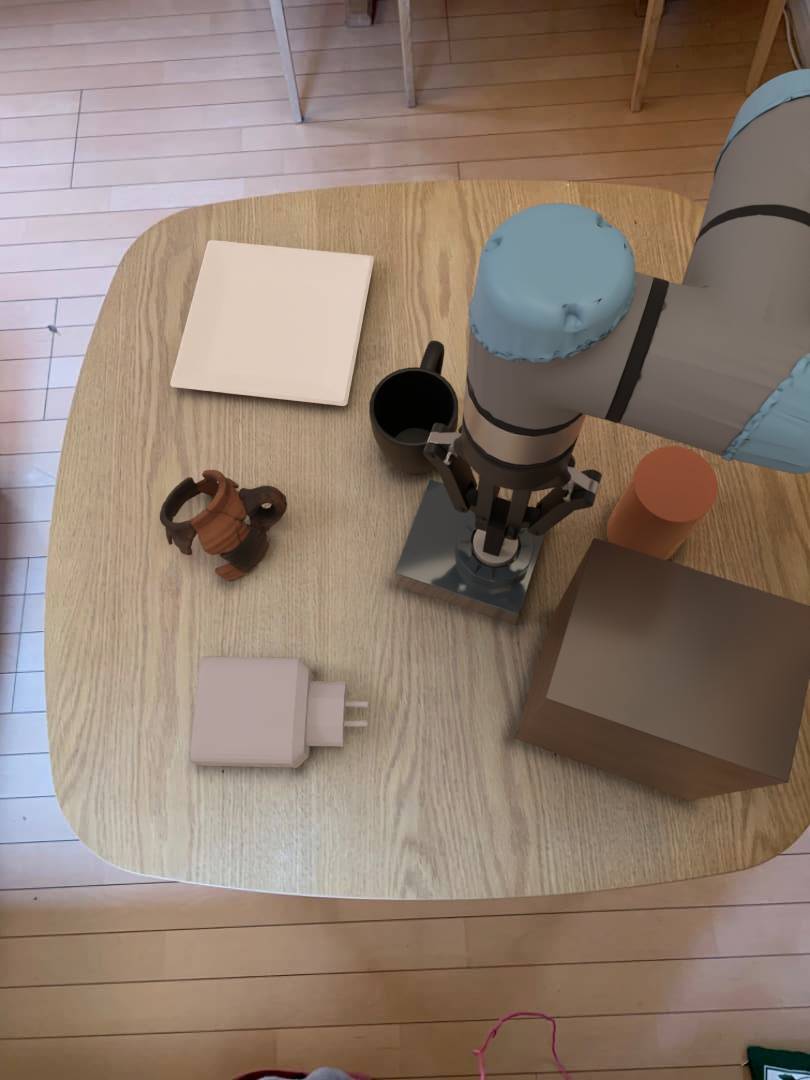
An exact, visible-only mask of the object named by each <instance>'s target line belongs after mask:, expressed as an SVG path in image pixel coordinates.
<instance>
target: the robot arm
mask: <svg viewBox="0 0 810 1080" xmlns="http://www.w3.org/2000/svg"><path fill="white" fill-rule="evenodd" d="M622 231H623V230H621V229H619V228H618V227H616V226H613V225H612V224H611V223H610V222H609V221H608V220H606V219H605V218H604V216H602V214H601V213H600V212H599V211H597V210H594V209H592V208H589V207H586V206H583V205H580V204H575V203H569V202H551V203H543V204H536V205H534V206H530V207H527V208H525V209H522V210H520V211H518V212H516V213H514V214H512V215H511V216H510V217H508V218H507V219H505V220H504V221H503V222H502V223H500V224H499V226H498V227H497V228H495V230H494V231H493V232H492V233H491V234H490V236H489V238H487V241H486V243H485V244H484V246H483V247H482V249H481V252H480V256H479V261H478V268H477V273H476V279H475V285H474V291H473V295H472V297H471V300H470V302H469V305H468V313H467V316H469V318H468V323H469V324H468V325H469V335H468V355H467V356H468V357H467V366H466V375H465V383H464V384H465V387H464V395H463V412H462V419H461V420H462V421H461V425H460V426H459V427H458V429H457V431H458V432H457V431H456V432H452V431H451V430H450V429H449V428H448V427H447V426H446V425H444V424H441V423H435V424H434V425H433V428H432V430H431V433H430V436H429V438H428V441H427V444H426V446H425V448H424V451H423V455H424V456H425V457H426V458H427V459H428V460H429V461H430V462H431V463H432V464H433V465H434V466H435V467H436V468H435V469H436V471H437V473H438V475H439V477H440V480H441V483H443V484H444V486H445V488H446V491H447V493H448V495H449V497H450V500H451V502H452V504H453V506H454V508H455V509H456V510H457V511H458V512H462V513H467V512H468V511H469V510H470V511H472V512H474V513H475V518H476V520H475V527H476V529H479V530H482V531H485V532H486V536H485V541H484V547H483V552H485V553H488V554H491V555H494V556H497V557H499V554H500V551H501V548H502V545H503V542H504V539H505V538H507V539H509V540H517V539H518V536H519V533H520V530H521V529H522V528H528V532H529V533H530V534H532V535H534V536H542V535H543V534H544V533H546V534H547V532H549V530H551V529H552V528H554V527H555V526H557V525H558V524H559V523H560V522H561V521H563V520H564V519H565V518H567V517H569V516H570V515H571V514H572V513H574V512H575V511H579V510H584V509H589V508H593V506H594V503H595V500H596V498H597V494H598V490H599V487H600V483H601V481H602V477H603V474H602V473H601V472H600V471H598V470H596V469H584V470H581V471H580V470H579V469H577V468H575V467H576V459H575V457H574V455H573V453H574V449H575V447H576V444H577V441H578V438H579V435H580V433H581V430H582V427H583V425H584V422H585V420H586V417H587V416H589V417H592V418H596V419H601V420H606V421H608V422H612V423H614V424H619V425H622V426H625V427H628V428H632V429H636V430H638V431H641V432H645V433H648V434H651V435H655V436H657V437H661V438H663V439H667V440H671V441H673V442H676V443H680V444H683V445H687V446H688V447H693V448H696V449H698V450H702V451H705V452H708V453H711V454H714V455H718V456H720V457H721V459H722V460H724V461H727V462H732V461H737V462H742V463H745V464H750V465H754V466H758V467H762V468H766V469H770V470H774V471H779V472H783V473H787V474H792V475H805V474H810V68H803V69H795V70H792V71H791V70H790V71H789V72H788V71H787V72H785V73H783V74H780V75H777V76H776V77H774V78H771V79H770V80H768V81H766V82H764V83H763V84H762V85H761V86H759V87H758V88H756V90H755V91H754V92H752V93H751V94H750V95H749V96H748V97H747V98H746V100H745V101H743V104H742V105H741V107H740V109H738V112H737V114H736V116H735V118H734V121H733V123H732V126H731V128H730V130H729V132H728V134H727V138H726V140H725V142H724V144H723V146H722V148H721V150H720V152H719V153H718V158H717V160H716V162H715V165H714V168H713V179H712V185H711V189H710V192H709V196H708V199H707V202H706V206H705V208H704V213H703V217H702V220H701V223H700V226H699V229H698V234H697V236H696V238H695V241H694V244H693V247H692V250H691V252H690V253H691V254H690V256H689V259H688V263H687V264H686V265H687V266H686V269H685V272H684V275H683V279H682V282H681V283H676V282H670V280H667V279H663V278H660V277H656V276H653V275H649V274H646V273H643V272H639V271H636V260H635V255H634V252H633V249H632V246H631V244H630V243H629V240H628V239H627V237H626V236H625V234H624V233H623V232H622ZM473 471H474V472H475V473H476V474H477V475H478V483H477V480H476V478H475V474H474V472H473ZM501 488H502V489H506V490H512V494H511V498H510V500H508V499H506V498H503V497H500V496H499V494H500V491H501ZM550 489H551V490H550ZM544 490H550V491H549V492H548V493H547V494H546V495H544V496H543V497H542V498H541V499H539V500H538V501H537V502H536V504H535V506H530V505H529V504H530V500H531V497H532V494H533V492H534V493H535V492H540V491H544Z"/></svg>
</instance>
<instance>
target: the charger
mask: <svg viewBox="0 0 810 1080" xmlns="http://www.w3.org/2000/svg"><path fill="white" fill-rule="evenodd" d="M196 683H197V684H196V691H195V701H194V708H193V709H194V711H193V718H192V719H193V720H192V729H191V738H190V747H189V748H190V749H189V753H190V754H189V755H190V762H191V763H192V764H195V765H198V766H205V767H206V766H207V767H208V766H209V767H247V768H248V767H249V768H250V767H253V768H259V767H260V768H294V769H298V768H299V767H300V766H301V765H302V764H303V763H304V762H305V761H307V759H308V758H309V757H310V751H311V747H341V748H343V747H344V744H345V736H346V735H345V734H346V727H352V728H353V727H355V728H367V727H369V721H368V720H347V719H346V717H347V708H368V707H369V706H370V703H369V701H366V700H363V701H362V700H347V681H335V680H334V681H324V680H315V674H313V672H312V670H311V669H310V668H309V667H308V666H307V665H306V663H305V662H304V661H303V660H302V659H301V658H300V657H271V656H269V657H268V656H267V657H265V656H264V657H263V656H261V657H259V656H215V655H214V656H213V655H212V656H211V655H210V656H209V655H206V656H205V655H202V656H201V658H200V661H199V665H198V675H197V682H196Z"/></svg>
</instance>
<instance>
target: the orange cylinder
mask: <svg viewBox="0 0 810 1080" xmlns="http://www.w3.org/2000/svg"><path fill="white" fill-rule="evenodd" d="M718 493H719V484H718V478H717V475H716V473H715V470H714V469H713V467H712V466H711V464H710V463H709V461H707V459H705V458H704V457H703V456H702V455H700V454H699V453H697V452H695V451H694V450H692V449H690V448H687V447H686V448H685V447H683V446H677V445H676V446H674V445H672V446H671V445H669V446H662V447H659V448H656V449H653V450H652V451H650V452H648V453H647V454H645V456H643V457H642V459H640V461H639V463H638V464H637V466H636V468H635V469H634V471H633V473H632V475H631V477H630V479H629V480H628V483H627V484H626V487H625V488H624V489H623V492H622V494H621V495H620V497H619V499H618V501H617V503H616V504H615V507H614V508H613V510H612V512H611V514H610V516H609V518H608V520H607V524H606V537H607V541H608V542H611V543H614V544H617V545H620V546H623V547H626V548H630V549H633V550H636V551H639V552H642V553H645V554H648V555H652V556H655V557H658V558H661V559H664V560H667V561H669V559H670V558H671V557H672V556H673V555H674V553H676V551H677V550H679V548H680V547H681V546H682V544H683V543H684V542H685V540H686V539H688V537H689V535H690V534H691V533H692V532H693V531H694V530H695V528H696V527H697V526H698V525H699V524H700V522H701V521H702V520H703V519H704V518H705V516H706V515H707V514H708V513H709V512H710V510H711V509H712V507H713V506H714V504H715V502H716V501H717V498H718Z"/></svg>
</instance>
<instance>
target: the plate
mask: <svg viewBox="0 0 810 1080" xmlns="http://www.w3.org/2000/svg"><path fill="white" fill-rule="evenodd" d="M374 261H375V257H374V256H373V255H370V254H359V253H349V252H338V251H330V250H329V251H328V250H317V249H309V248H297V247H287V246H278V245H266V244H256V243H247V242H237V241H225V240H216V239H209V240H208V241H207V243H206V246H205V251H204V253H203V258H202V261H201V266H200V269H199V273H198V277H197V281H196V284H195V289H194V292H193V297H192V300H191V304H190V307H189V310H188V314H187V318H186V322H185V325H184V330H183V334H182V337H181V340H180V345H179V348H178V352H177V355H176V360H175V364H174V367H173V371H172V374H171V378H170V383H169V385H170V387H171V388H178V389H189V390H197V391H206V392H215V393H223V394H232V395H240V396H250V397H259V398H269V399H278V400H287V401H295V402H303V403H304V402H305V403H314V404H323V405H330V406H331V405H332V406H341V407H345V406H346V405H348V402H349V396H350V391H351V386H352V380H353V374H354V370H355V369H354V368H355V365H356V358H357V353H358V348H359V342H360V338H361V332H362V325H363V321H364V316H365V310H366V304H367V298H368V293H369V288H370V284H371V277H372V273H373V267H374V263H375V262H374Z"/></svg>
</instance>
